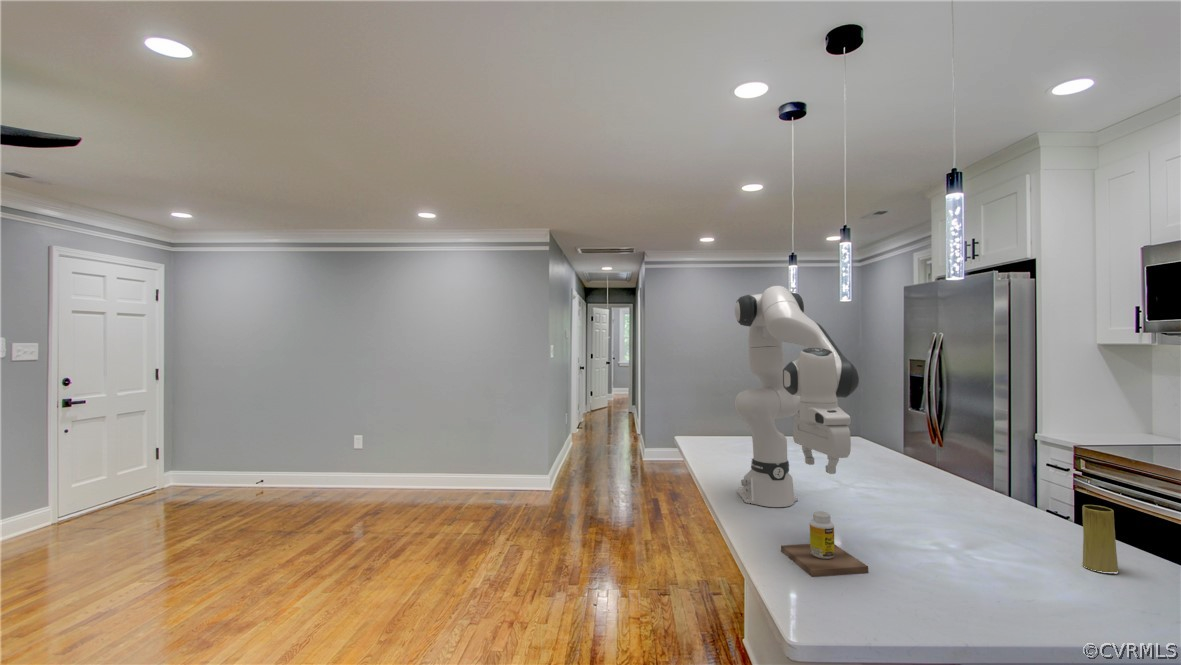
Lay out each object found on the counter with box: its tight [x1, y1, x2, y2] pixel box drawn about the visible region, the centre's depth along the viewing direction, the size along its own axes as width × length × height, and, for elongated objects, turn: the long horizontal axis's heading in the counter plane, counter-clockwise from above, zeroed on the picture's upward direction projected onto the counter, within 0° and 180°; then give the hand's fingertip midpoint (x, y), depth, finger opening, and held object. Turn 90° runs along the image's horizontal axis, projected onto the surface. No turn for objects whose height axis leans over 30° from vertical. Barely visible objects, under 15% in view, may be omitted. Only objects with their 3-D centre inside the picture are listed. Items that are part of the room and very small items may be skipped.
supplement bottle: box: [809, 510, 835, 559], centre depth 128 cm, size 6×6×10 cm
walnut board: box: [780, 543, 869, 578], centre depth 128 cm, size 15×14×2 cm
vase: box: [1081, 504, 1120, 572], centre depth 121 cm, size 6×6×14 cm
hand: (819, 468), depth 129 cm, fingers open, 8 cm apart
